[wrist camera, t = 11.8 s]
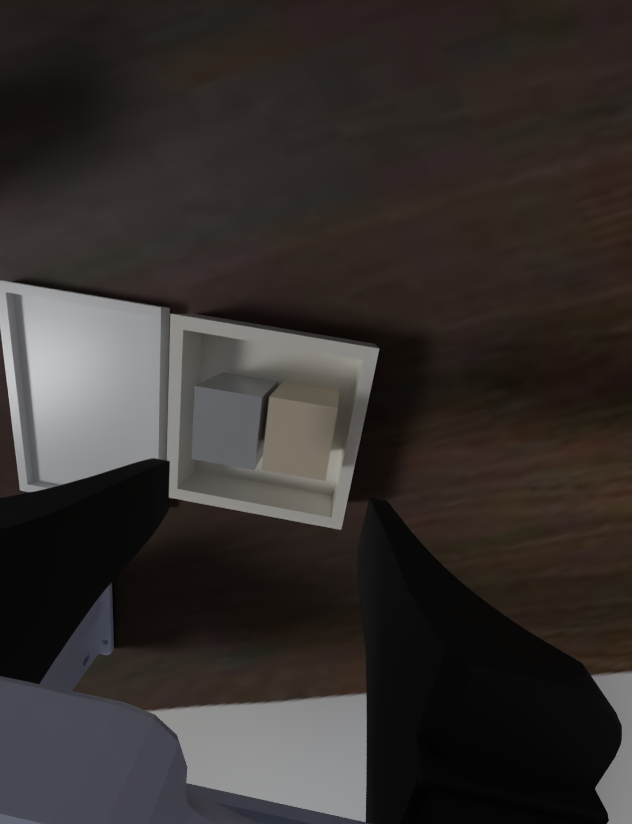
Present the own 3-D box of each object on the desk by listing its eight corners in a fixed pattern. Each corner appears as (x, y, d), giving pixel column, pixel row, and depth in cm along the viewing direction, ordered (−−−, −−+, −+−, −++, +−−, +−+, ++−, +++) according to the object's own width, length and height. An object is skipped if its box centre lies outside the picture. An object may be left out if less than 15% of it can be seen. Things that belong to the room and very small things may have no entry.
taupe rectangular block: (328, 450, 21) (325, 480, 17) (276, 441, 21) (261, 469, 17) (339, 390, 20) (338, 408, 16) (283, 381, 20) (269, 396, 16)
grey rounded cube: (270, 442, 21) (254, 470, 17) (218, 433, 21) (191, 459, 17) (277, 381, 20) (262, 397, 16) (223, 372, 20) (194, 385, 16)
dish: (341, 502, 23) (341, 529, 20) (188, 474, 23) (165, 496, 20) (374, 343, 19) (379, 348, 17) (195, 313, 20) (170, 313, 17)
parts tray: (164, 508, 24) (157, 516, 23) (32, 483, 24) (20, 490, 23) (169, 307, 20) (160, 307, 19) (11, 281, 20) (-6, 279, 19)
